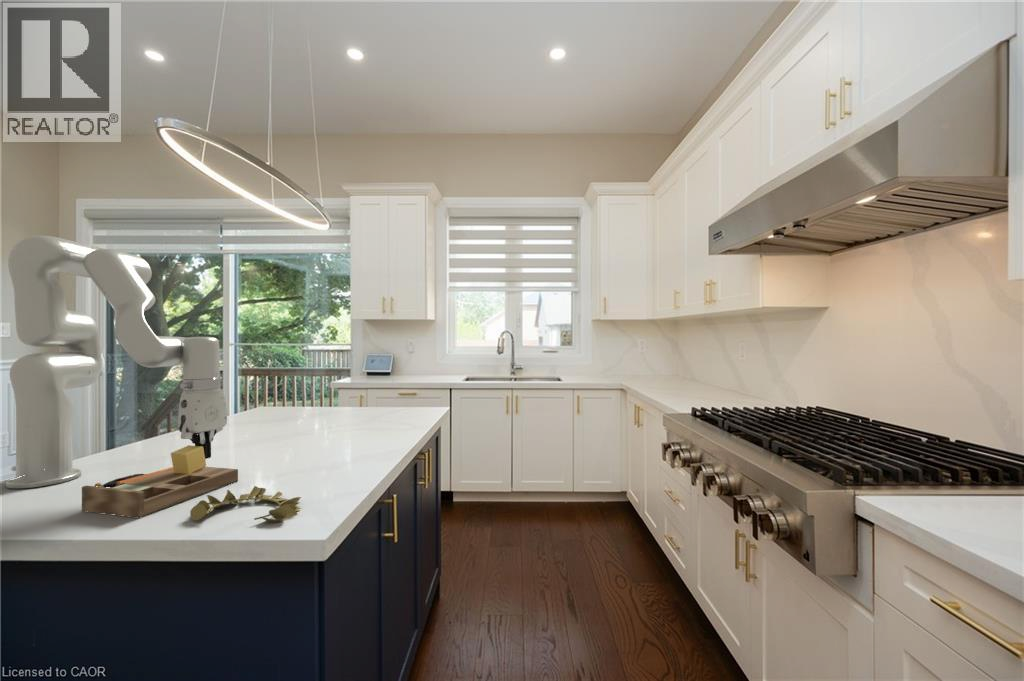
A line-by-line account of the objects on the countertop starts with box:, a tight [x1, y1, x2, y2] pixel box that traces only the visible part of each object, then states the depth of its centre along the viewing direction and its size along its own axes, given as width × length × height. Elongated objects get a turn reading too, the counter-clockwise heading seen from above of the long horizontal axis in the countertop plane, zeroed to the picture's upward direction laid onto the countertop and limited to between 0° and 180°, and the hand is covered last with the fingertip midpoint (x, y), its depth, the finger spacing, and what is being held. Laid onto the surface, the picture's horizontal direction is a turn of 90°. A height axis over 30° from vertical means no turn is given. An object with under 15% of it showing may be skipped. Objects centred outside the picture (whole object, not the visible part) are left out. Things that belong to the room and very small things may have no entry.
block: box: [170, 445, 207, 474], centre depth 105 cm, size 4×4×5 cm
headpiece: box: [189, 485, 302, 523], centre depth 89 cm, size 21×4×15 cm
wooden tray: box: [81, 466, 239, 519], centre depth 97 cm, size 15×23×5 cm, turn 167°
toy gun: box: [94, 466, 174, 488], centre depth 108 cm, size 15×2×10 cm
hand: (203, 458), depth 109 cm, fingers closed
